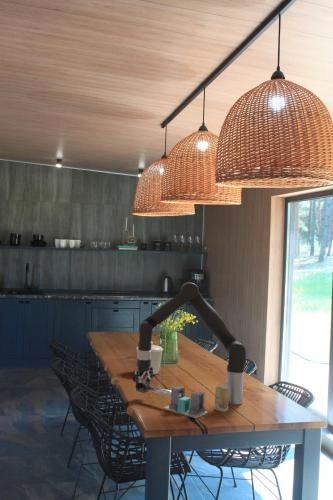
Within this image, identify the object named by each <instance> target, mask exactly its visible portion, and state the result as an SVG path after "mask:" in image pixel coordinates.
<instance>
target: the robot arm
mask: <svg viewBox="0 0 333 500" xmlns="http://www.w3.org/2000/svg"><path fill="white" fill-rule="evenodd" d="M199 290H200V289H199V287H198V285H197V284H195V283H193V282H190V281H188V282H184V283H182V286H181V287H180V291H179V292H178V293H177V294H176V295H175V296H174V297H173V298H171V299H170V300H169V301H167V302H166V303H164V304H162V305H161V306H160V307H159V308H158V309H156V310H155V311H154V312H153V313H152V314H151V315H150V316H148V317H145V319H144V320H142V321H141V322H140V323H139V326H138V328H139V329H138V330H139V335H138V336H139V340H138V346H137V347H138V355H137V356H136V357H137V358H136V360H137V361H136V367H137V370H136V369H134V370H133V378H132V382H134V383H135V389H137V390H139V389H140V381H142V380H143V378H145V381H148V382H150V383H151V379H153V377H154V375H153V367H151V342H152V339H153V338H152V337H153V329H154V328H156V327H157V326H158V325H161V324H162V323H163V322H165V321H166V320H168V318H169V317H171V315H173V314H174V313H175V312H176V311H177V310H178V309H180V308H181V307H183V306H184V305H186V304H187V303H190V305H192V307H193V308H194V310H195V311H196V313H197V314H198V316H199V318H200V319H201V321H202V322H203V323H204V324H205V326H206V327H207V329H208V330H209V331H210V332H211V333H212V335H214V336H215V337H216V338H217V339H218V340H219V341H220V342H221V345H222V346H223V347H224V348H225V350H226V352H227V353H228V354H227V355H228V362H227V363H228V364H227V366H226V382H225V386H226V387H230V390H229V402H228V405H241V404H242V403H243V394H244V393H243V392H244V375H245V374H244V372H245V367H246V358H247V357H246V355H247V349H246V347H245V346H244V345H243V343H241V342H240V341H239V340H238V339H236V337H235V336H234V335H233V334H232V333H231V332H230V330H229V328H228V326H227V324H226V322H225V320H223V318H222V317H221V315H220V314H219V313H218V312H217V311H216V309H214V307H212V306H211V304H209V302H208V301H206V299H204V297H203V296H202V294H201V293H200V291H199ZM150 374H151V375H150Z"/></svg>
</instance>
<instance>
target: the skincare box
mask: <svg viewBox="0 0 333 500" xmlns="http://www.w3.org/2000/svg"><path fill="white" fill-rule="evenodd" d="M229 390H230V387H226V385H222V384H219V385H216V386H215V395H214V408H213V409H214V410H216V411H219V412H224V413H225V412H227V411H228V410H229V403H228V402H229Z"/></svg>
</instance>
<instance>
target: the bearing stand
mask: <svg viewBox="0 0 333 500" xmlns="http://www.w3.org/2000/svg"><path fill="white" fill-rule="evenodd" d="M171 391H172V393H171V396H170V403H169V404H168V405H166V406H163V408H162V409H163V410H165V411H168V412H172V413H175V414H179V415H182V416H186V417H190V418H193V419H197V418H200V417H202V416H205V415H206V414H207V415H208V411H206V407H205V392H204V391H203V390H202V391H201V390H196V391H193V392H191V394H190V398H191V405H190V409H186V408H185V411H180V410H177V405H178V399H179V393H182V397H185V391H186V387H185V386H180V385H177V386H175V387H171Z"/></svg>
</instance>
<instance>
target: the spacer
mask: <svg viewBox="0 0 333 500" xmlns="http://www.w3.org/2000/svg"><path fill="white" fill-rule="evenodd" d="M190 406H191V397H187V396H184V397H182V398H179V399H178V405H177V410H180V411H185V408H186V409H190Z"/></svg>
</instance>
